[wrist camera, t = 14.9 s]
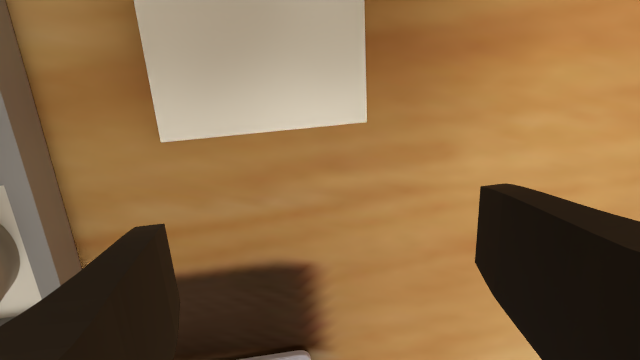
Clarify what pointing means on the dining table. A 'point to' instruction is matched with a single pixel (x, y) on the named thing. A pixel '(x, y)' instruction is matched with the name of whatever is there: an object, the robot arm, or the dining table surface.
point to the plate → (253, 65)
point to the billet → (8, 261)
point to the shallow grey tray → (29, 188)
